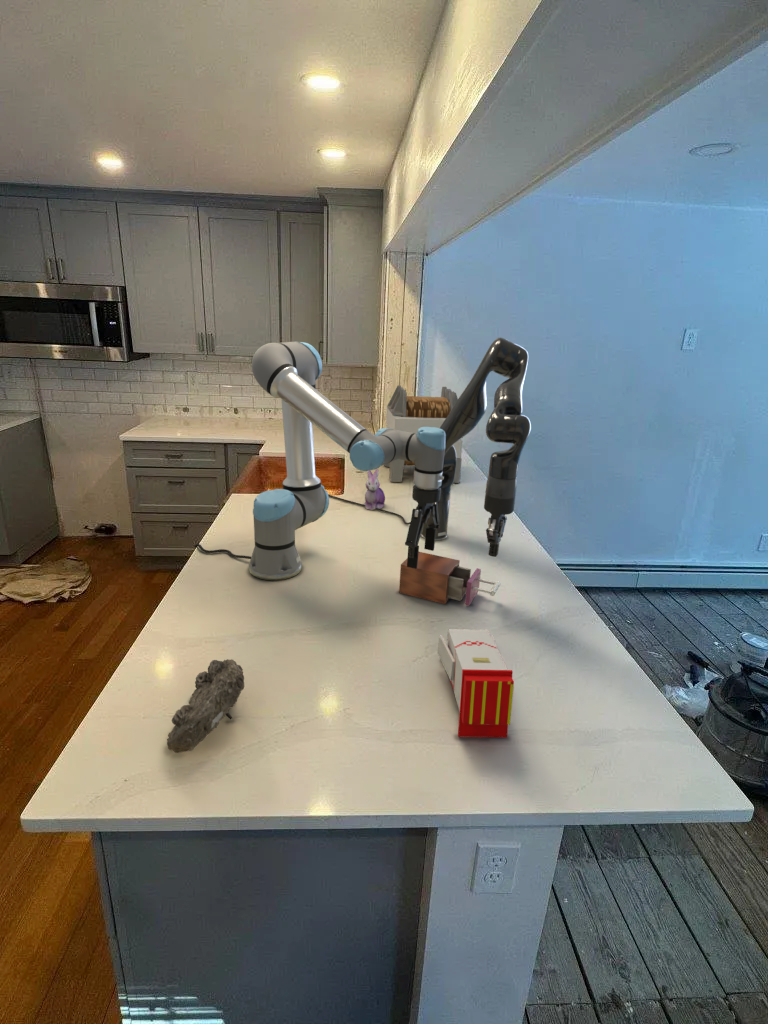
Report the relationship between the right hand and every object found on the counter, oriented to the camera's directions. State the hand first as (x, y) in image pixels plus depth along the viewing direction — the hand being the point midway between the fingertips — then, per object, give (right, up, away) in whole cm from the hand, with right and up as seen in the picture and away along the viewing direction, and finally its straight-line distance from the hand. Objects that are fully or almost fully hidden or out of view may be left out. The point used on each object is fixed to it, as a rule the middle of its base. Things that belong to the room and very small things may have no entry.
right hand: (493, 555), depth 149 cm
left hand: (-18, -1, +9) cm, 21 cm away
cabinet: (-16, -11, +11) cm, 22 cm away
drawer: (-7, -12, +7) cm, 15 cm away
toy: (-11, -26, -31) cm, 42 cm away
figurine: (-33, +14, +76) cm, 84 cm away
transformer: (-12, +30, +125) cm, 130 cm away
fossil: (-62, -28, -41) cm, 79 cm away
